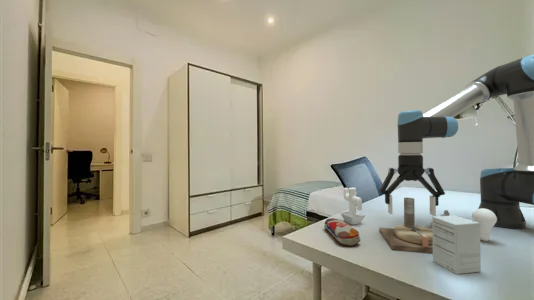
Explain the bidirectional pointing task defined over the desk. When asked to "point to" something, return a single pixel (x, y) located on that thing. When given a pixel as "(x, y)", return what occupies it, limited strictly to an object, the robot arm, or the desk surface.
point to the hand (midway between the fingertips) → (411, 214)
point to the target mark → (424, 241)
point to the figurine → (352, 207)
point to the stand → (403, 242)
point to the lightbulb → (484, 222)
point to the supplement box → (456, 244)
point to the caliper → (441, 215)
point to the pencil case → (342, 231)
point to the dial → (412, 226)
